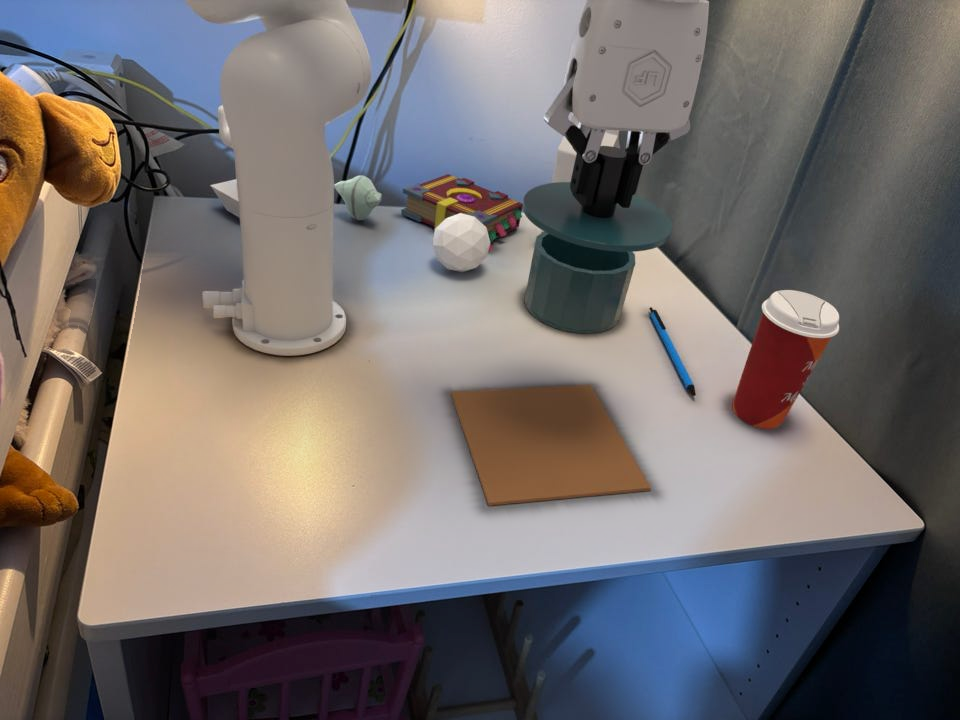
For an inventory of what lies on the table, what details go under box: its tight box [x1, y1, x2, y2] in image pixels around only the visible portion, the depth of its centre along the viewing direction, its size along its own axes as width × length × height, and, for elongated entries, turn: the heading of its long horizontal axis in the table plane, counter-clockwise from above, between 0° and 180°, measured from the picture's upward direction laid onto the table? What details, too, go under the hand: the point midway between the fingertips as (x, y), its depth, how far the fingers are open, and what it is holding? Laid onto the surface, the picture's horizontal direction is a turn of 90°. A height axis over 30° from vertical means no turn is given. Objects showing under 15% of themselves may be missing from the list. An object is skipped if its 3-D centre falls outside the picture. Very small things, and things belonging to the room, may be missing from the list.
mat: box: [450, 384, 652, 507], centre depth 72 cm, size 16×16×1 cm
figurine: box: [209, 104, 240, 219], centre depth 101 cm, size 7×9×15 cm
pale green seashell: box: [334, 175, 383, 221], centre depth 106 cm, size 8×4×7 cm, turn 65°
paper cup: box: [732, 289, 840, 430], centre depth 76 cm, size 8×8×14 cm
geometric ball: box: [431, 213, 491, 273], centre depth 98 cm, size 8×8×8 cm
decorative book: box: [400, 173, 523, 252], centre depth 110 cm, size 11×16×5 cm
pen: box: [649, 306, 697, 398], centre depth 88 cm, size 1×19×1 cm, turn 4°
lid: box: [522, 146, 673, 253], centre depth 64 cm, size 14×14×7 cm
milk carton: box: [541, 114, 621, 233], centre depth 105 cm, size 7×7×19 cm
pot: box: [524, 231, 636, 334], centre depth 92 cm, size 13×13×8 cm
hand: (600, 199), depth 64 cm, fingers closed on lid, 3 cm apart
